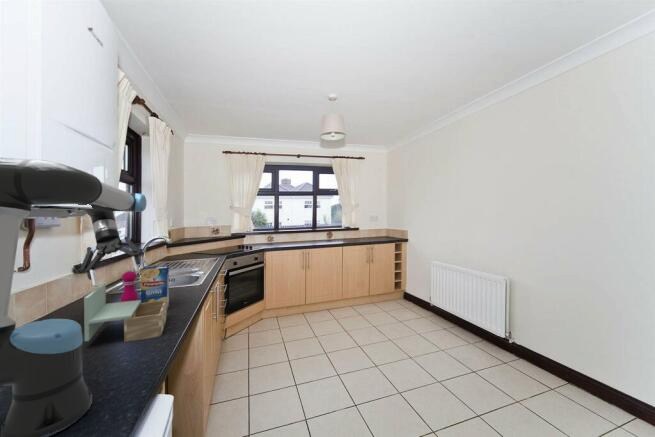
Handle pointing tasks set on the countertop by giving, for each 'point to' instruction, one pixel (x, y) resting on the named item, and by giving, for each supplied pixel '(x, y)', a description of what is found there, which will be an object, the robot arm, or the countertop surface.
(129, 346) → the countertop surface
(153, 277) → the blue food box
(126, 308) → the grey-green angled piece
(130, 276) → the pepper mill
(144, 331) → the wooden box
